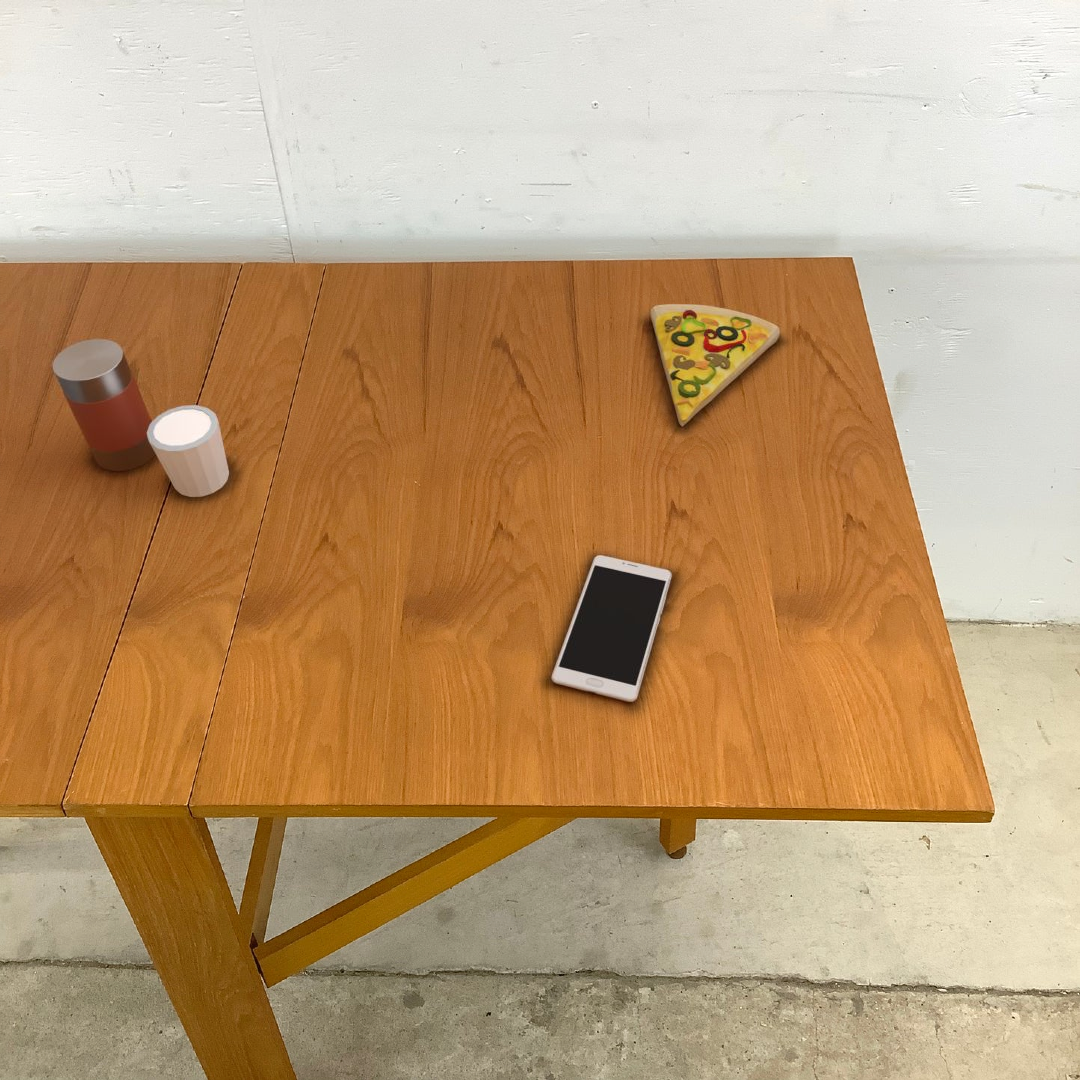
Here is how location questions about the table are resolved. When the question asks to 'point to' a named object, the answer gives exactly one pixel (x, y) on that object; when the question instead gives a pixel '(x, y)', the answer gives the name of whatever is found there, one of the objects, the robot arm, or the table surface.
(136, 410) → the tin can
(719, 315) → the pizza slice
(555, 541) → the table surface
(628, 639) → the smartphone
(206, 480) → the shot glass
